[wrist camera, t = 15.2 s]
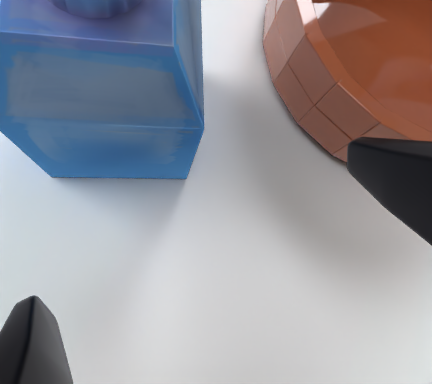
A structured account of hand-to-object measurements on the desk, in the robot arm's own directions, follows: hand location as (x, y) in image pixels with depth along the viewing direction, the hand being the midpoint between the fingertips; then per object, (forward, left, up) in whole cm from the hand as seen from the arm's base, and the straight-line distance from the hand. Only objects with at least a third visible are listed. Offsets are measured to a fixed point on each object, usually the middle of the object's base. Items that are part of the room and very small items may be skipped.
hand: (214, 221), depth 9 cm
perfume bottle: (+7, 0, -8) cm, 10 cm away
